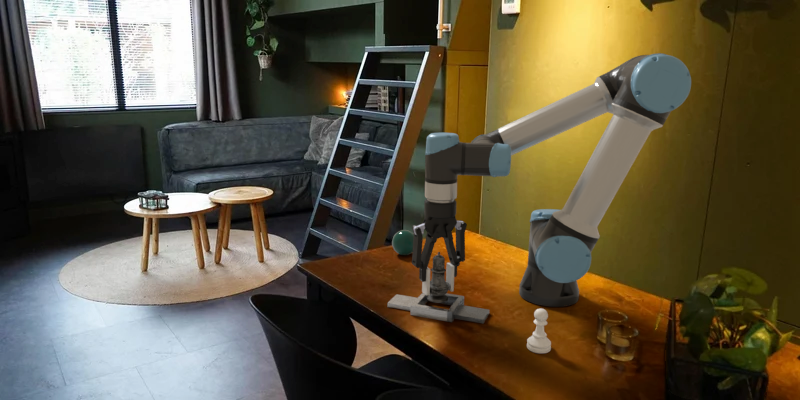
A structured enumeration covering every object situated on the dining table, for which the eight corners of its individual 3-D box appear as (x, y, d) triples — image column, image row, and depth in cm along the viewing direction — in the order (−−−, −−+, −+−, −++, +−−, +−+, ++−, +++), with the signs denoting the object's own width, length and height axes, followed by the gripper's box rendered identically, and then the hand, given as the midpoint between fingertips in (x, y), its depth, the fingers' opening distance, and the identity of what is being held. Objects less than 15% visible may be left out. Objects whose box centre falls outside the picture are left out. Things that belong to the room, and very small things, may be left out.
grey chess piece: (448, 304, 136) (449, 256, 133) (423, 301, 137) (425, 254, 134) (450, 294, 142) (452, 248, 139) (427, 292, 143) (428, 247, 140)
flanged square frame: (491, 309, 140) (491, 300, 140) (481, 327, 131) (481, 317, 130) (399, 294, 149) (399, 285, 149) (383, 310, 140) (383, 300, 139)
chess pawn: (522, 343, 123) (525, 305, 121) (543, 341, 125) (546, 303, 123) (533, 355, 119) (535, 315, 117) (555, 352, 120) (558, 313, 118)
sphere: (414, 259, 176) (414, 235, 174) (389, 257, 178) (389, 233, 176) (419, 251, 184) (419, 227, 182) (395, 249, 186) (395, 226, 184)
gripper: (467, 192, 141) (464, 280, 146) (397, 198, 133) (396, 291, 139) (483, 199, 134) (479, 291, 139) (410, 206, 127) (408, 302, 132)
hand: (437, 291), depth 139 cm, fingers closed on grey chess piece, 6 cm apart
